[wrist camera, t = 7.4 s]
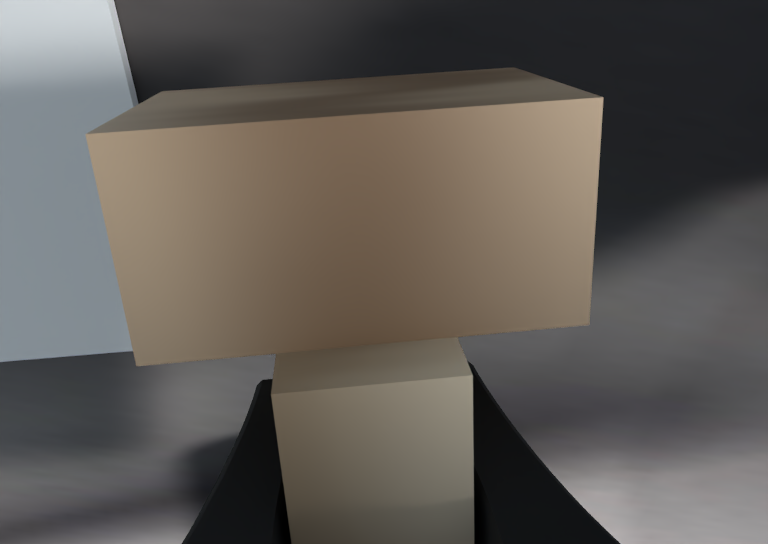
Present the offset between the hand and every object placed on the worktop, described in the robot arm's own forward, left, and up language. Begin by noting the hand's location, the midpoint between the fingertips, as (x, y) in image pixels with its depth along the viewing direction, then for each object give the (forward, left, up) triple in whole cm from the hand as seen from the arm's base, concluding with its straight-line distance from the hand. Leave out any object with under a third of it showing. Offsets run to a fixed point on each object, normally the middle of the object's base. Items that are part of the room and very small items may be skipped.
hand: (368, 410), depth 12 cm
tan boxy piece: (0, +1, -1) cm, 2 cm away
